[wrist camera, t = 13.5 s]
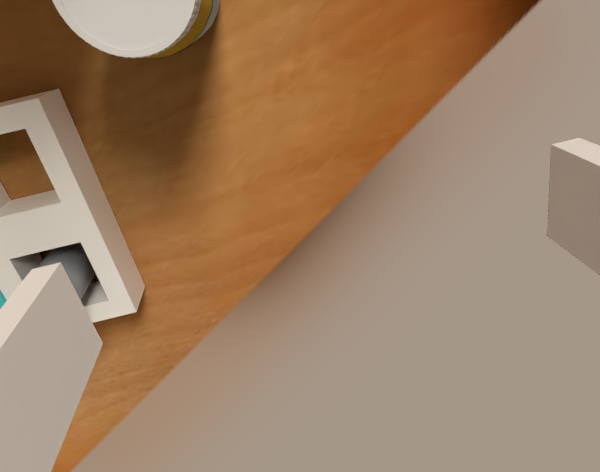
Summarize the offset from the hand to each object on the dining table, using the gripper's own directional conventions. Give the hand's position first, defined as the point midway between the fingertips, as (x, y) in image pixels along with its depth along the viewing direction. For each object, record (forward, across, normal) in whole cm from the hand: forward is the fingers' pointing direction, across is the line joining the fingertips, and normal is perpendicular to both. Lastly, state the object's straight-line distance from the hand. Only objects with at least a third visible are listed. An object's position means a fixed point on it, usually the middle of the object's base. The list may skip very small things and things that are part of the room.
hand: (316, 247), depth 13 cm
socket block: (+27, +22, +6) cm, 35 cm away
